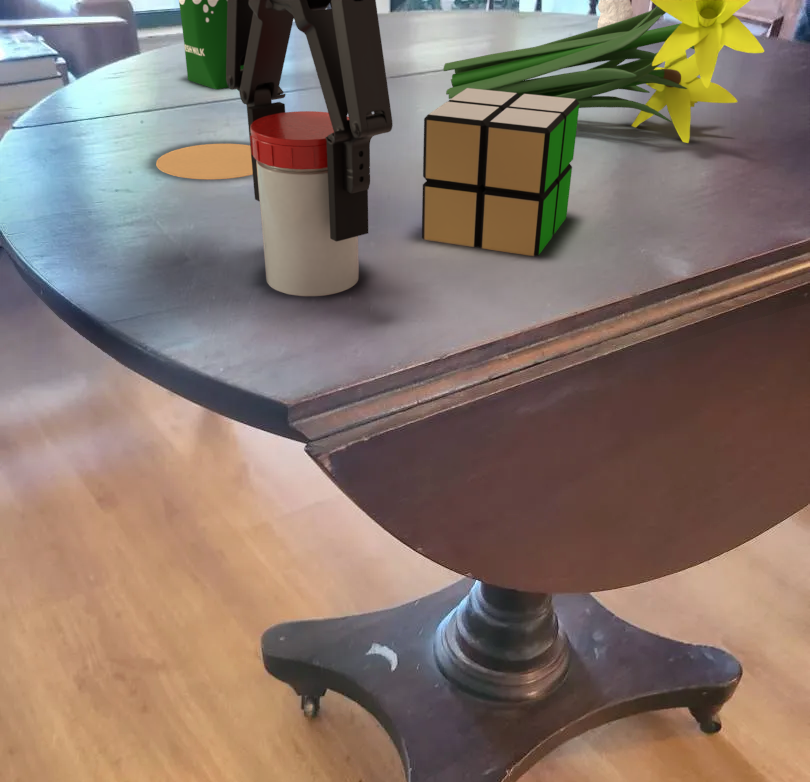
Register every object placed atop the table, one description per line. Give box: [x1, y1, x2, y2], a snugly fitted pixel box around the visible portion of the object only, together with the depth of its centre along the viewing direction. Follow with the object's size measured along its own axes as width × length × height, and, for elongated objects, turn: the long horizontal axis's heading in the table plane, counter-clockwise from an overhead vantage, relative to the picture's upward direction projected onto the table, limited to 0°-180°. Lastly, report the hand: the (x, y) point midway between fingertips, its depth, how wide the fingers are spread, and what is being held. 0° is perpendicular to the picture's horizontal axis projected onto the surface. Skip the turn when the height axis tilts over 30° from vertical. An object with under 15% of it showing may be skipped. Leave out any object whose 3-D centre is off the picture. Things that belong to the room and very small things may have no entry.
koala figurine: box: [597, 0, 634, 29], centre depth 139 cm, size 8×7×12 cm
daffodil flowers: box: [442, 0, 765, 144], centre depth 100 cm, size 17×15×35 cm
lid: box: [249, 110, 349, 169], centre depth 65 cm, size 7×7×2 cm
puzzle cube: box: [421, 88, 580, 257], centre depth 77 cm, size 10×10×10 cm
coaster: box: [155, 143, 253, 180], centre depth 94 cm, size 12×12×1 cm
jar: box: [256, 160, 360, 297], centre depth 68 cm, size 7×7×11 cm
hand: (309, 215), depth 68 cm, fingers open, 9 cm apart
